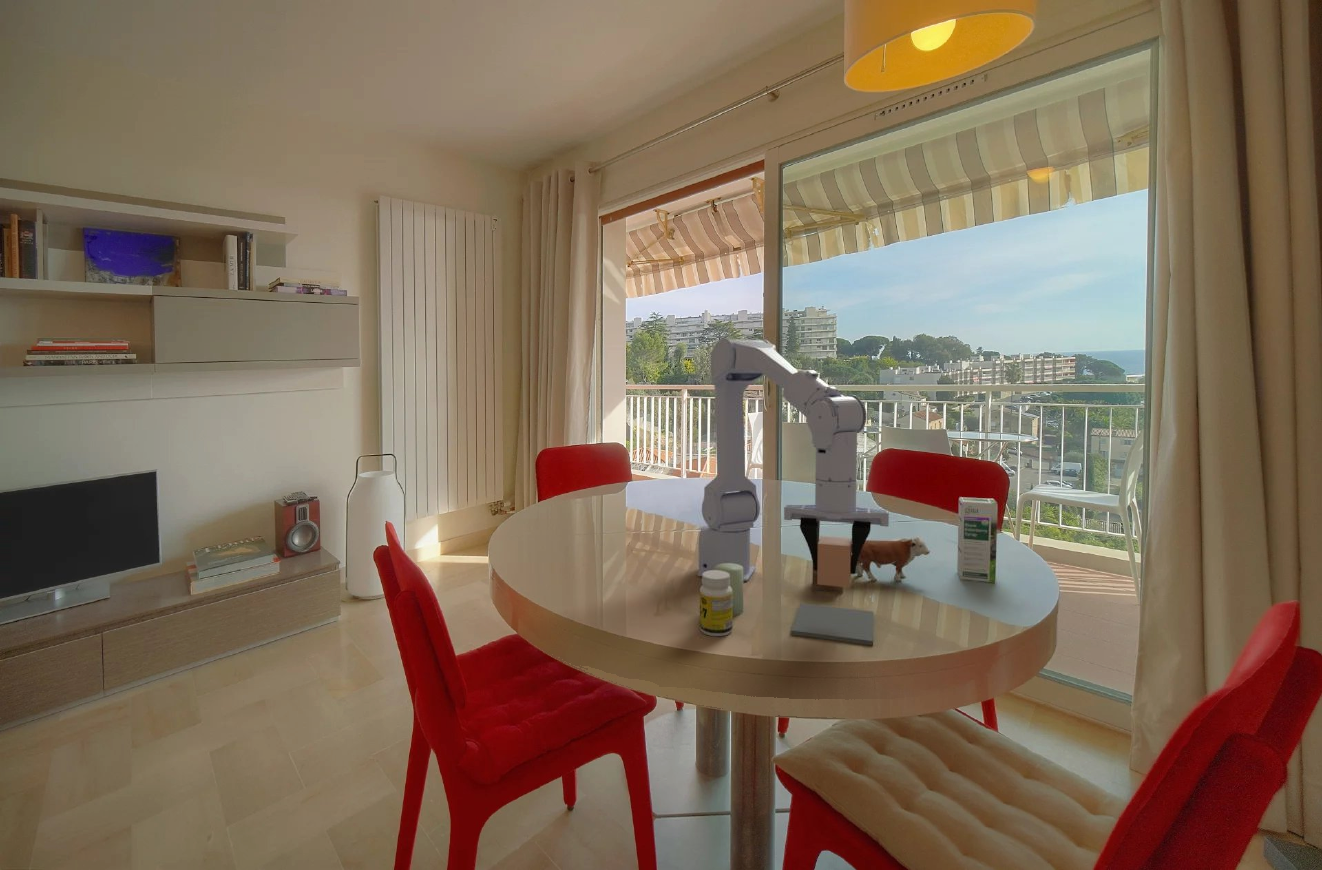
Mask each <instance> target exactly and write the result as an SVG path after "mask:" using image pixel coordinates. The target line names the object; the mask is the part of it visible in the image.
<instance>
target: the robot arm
mask: <svg viewBox="0 0 1322 870" xmlns="http://www.w3.org/2000/svg"><path fill="white" fill-rule="evenodd" d="M710 372H711V384H712V385H713V387H714V412H715V413H714V414H715V415H714V416H715V419H714V420H715V446H716V448H715V450H716V455H715V456H716V476H715V477H714V478H713V479H712V480H711V481H709V483H707V484H706V486H704V489H703V490H704V494H703V495H704V496H703V501H702V504H701V515H702V518H703V520H704V522H705V524H706V525H703V526H701V529H700V531H699V536H698V572H697V577H702V574H703V573H704V572H706V571H710V570H715V566H716V565H719V564H723V563H733V564H738V565H741V566H743V582H747V581H749V579H750V578H751V576H752V575H753V574H754V573H755V570H756V566H755V565H754V566H753V565H751V528H754V523H755V522H757V520H758V519H759V516H760V512H761V505H760V501H759V498H758V493H757V486H756V483H754V482H752V481H751V480H750V479H749V478H748V477H747V475H746V458H745V457H746V456H745V453H746V452H745V451H746V450H745V421H744V420H745V419H744V418H745V417H744V415H745V414H744V392H745V391H746V390H747V388H748V387H749V386H750V385H753V384H754V383H755V382H757V381H758V380H759V379H761V378H763V377H764V376H765V377H766V378H768V379H769V380H770V381H772V382H773V383H774V384H776V385H777V386H779V387H780V388H782V389H783V397H784V399H785V400H786V401H787V402H788V403H789V404H790V405H791V406H792V407H794V409H796V410H797V411H798V412H799V413H801V414H802V415H803V416H804V417H806V421H807V422H806V423H807V426H808V428H809V430H810V433H811V437H812V438H811V441H812V442H811V443H812V444H813V447H814V448H815V485H814V486H815V488H814V489H815V491H814V492H815V493H814V494H815V495H814V497H815V499H814V504H785V506H784V507H783V508H784V511H783V520H785V521H793V520H800V521H799V523H800V524H799V529H800V531H801V533H802V535H803V538H804V540H805V542H806V544H807V547H808V549H809V553H810V556H811V557H810V558H811V561H812V569H813V568H814V570H815V571H818V542H819V539H820V526H821V525H820V524H821V522H831V523H843V524H844V523H847V524H852V526H851V538H852V556H851V565H850V574H851V575H856V565H857V561H858V558H859V555H860V552H861V549H862V547H863V545H864V543H865V541H866V540H868V537H869V535H870V533H871V530H872V529H871V526H872V525H874V526H875V525H877V526H880V527H887V528H888V527H889V524H890V520H889V518H890V517H889V516H890V515H889V514H890V513H889V512H890V511H889V510H887V509H884V510H883V509H874V508H866V507H858V506H857V473H858V472H857V468H858V467H857V463H858V462H857V461H858V460H857V459H858V458H857V457H858V455H857V454H858V434H859V433H860V432H861V431H862V430H863V429H864V428H865V426H866V424H867V423H866V422H867V409H866V407H865V404H864V403H863V402H862V400H860V398H859V397H858V396H857V395H855V394H846V395H843V394H841V393H839V392H838V391H839V390H838V388H837V387H835V386H833V385H832V386H831V385H829V384H828V383H826V382H825V381H823V380H822V379H821V378H820V377H819V373H818V371H816V370H813V369H811V370H808V369H807V370H799V371H798V370H797V369H796V368H795V367H794V366H793V365H792V364H791V363H790V362H789V361H787V360H786V359H785V358H784V357H783V356H782V355H781V354H780V353H779V352H778V351H777V348H776V345H775V344H773V343H771V342H770V341H769V340H767V339H765V338H764V339H763V338H762V339H743V338H742V339H739V338H738V339H737V338H736V339H735V338H728V337H722V338H720V339H718V341H717V342H716V343H715V344H714V346H713V348H712V350H711V351H710Z"/></svg>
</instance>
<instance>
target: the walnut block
mask: <svg viewBox="0 0 1322 870" xmlns="http://www.w3.org/2000/svg"><path fill="white" fill-rule="evenodd" d="M817 572H818V571H815V570H814V568H813V567H812V583H811V584H812V591H813V592H821V593H822V592H823V593H831V594H832V593H833V594H840V595H841V594H844V593H843V592H844V587H839V586H829V585H819V584H817Z"/></svg>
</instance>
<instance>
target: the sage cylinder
mask: <svg viewBox="0 0 1322 870" xmlns="http://www.w3.org/2000/svg"><path fill="white" fill-rule="evenodd" d="M715 570H720V571H725V572H727V573H729V575H730V585H729V586H730V587H731V588H732V615H733V617H736V616H740V615H741V614H743V613H744V581H743V566H741V565H738V564H733V563H723V564H719V565H716V566H715Z"/></svg>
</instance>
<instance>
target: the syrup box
mask: <svg viewBox="0 0 1322 870" xmlns="http://www.w3.org/2000/svg"><path fill="white" fill-rule="evenodd" d="M998 506H999V505H998V502H997V500H995V499H994V498H982V497H981V498H980V497H979V498H978V497H964V496H963V497H962V496H959V498H958V522H957V525H958V527H957V565H956V567H957V568H956V569H957V573H958V577H959V580H961V581H974V582H982V583H990V582H991V583H990V584H995V583H996V571H997V569H996V568H997V545H998V544H997V542H998V541H997V540H998V537H997V536H998V511H999V510H998V508H999V507H998Z"/></svg>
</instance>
